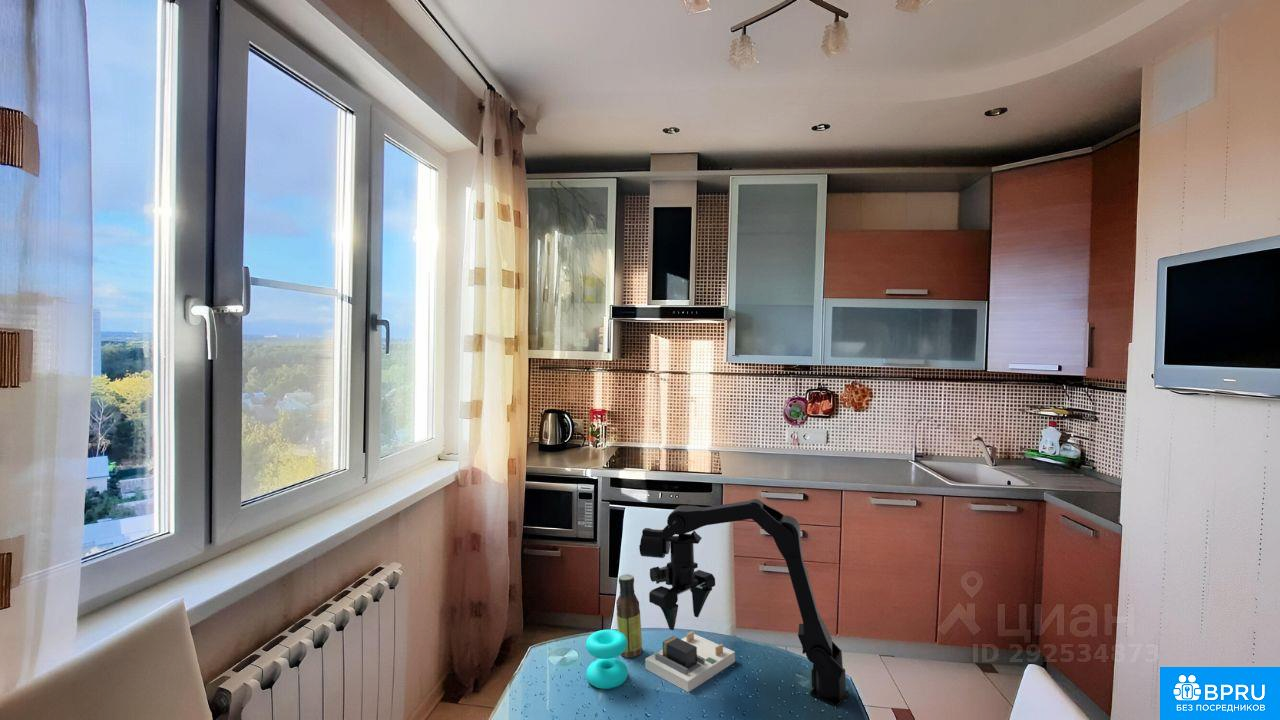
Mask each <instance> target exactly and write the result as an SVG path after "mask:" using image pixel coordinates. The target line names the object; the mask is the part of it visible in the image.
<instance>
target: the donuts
mask: <svg viewBox="0 0 1280 720" xmlns="http://www.w3.org/2000/svg"><path fill="white" fill-rule="evenodd" d="M626 647H627V639H626V637H625V635H624V634H622V633H621V632H619V631H618V630H616V629H601V630H597V631H595V632H593V633H591V634H590V635H589V636H588V637H587V639H586V642H585V649H586V651H587V652H588V653H589V655H590V656H592V657H594V658H597V659H596V660H594V661H592V662H591V663H590V664H589V666H588V667H587V670H586V674H585V675H586V680H587V682H588V684H590V685H592V686H593V687H595V688H598V689H603V690H606V689H607V690H609V689H614V688H617V687H619V686H621V685H622V684H623V683H625V681H626V680H627V678H628V675H629V671H628V670H629V669H628V667H627V665H626V663H625V662H624V661H622V660H621V659H619V658H617V657H619V656H622V655H621V654H622V653H623V652H624V651H625V649H626Z"/></svg>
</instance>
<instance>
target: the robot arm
mask: <svg viewBox="0 0 1280 720" xmlns="http://www.w3.org/2000/svg"><path fill="white" fill-rule="evenodd" d="M747 520H752V521H754V522H755V523H756V524H757V525H758V526H759V527H760V528H762V530H764V532H765V533H767V534H768V535H769V536H771V537H772V538H773V540H774V543H775V544H776V547H777V549H778V551H779V553H780V555H781V556H782V558H783V559H784V561H785V563H786V566H787V570H788V574H789V578H790V580H791V585H792V588H793V592H794V596H795V598H796V602H797V606H798V609H799V613H800V616H801V619H802V623H798V629H797V630H798V631H797V632H798V633H797V636H798V637H797V638H798V639H799V642H800V644H801V646H802V647H801V648H802V652H801V653H802V654H803V655H805V656H806V658H807V660H808V661H809V662H810V663H812V669H811V675H810V676H811V677H810V679H811V688H812V690H810V691H809V695H810V696H813V697H814V698H817V699H819V700H821V701H823V702H825V703H827V704H830V705H832V706H834V707H838V706H839V705H840V704H842V702H843V701H844V700H846V699H847V698H848V697H849V696H850V691H848V690H847V688H846V687H847V685H846V681H847V680H846V669H845V668H844V665H843V664H844V663H843V651H842V649H840V648H839V646H838V645H836V643H835V642H834V641H833V639H832V636H831V634H830V631H829V629H828V627H827V625H826V624H825V621H824V620H823V618H822V617H821V615H820V612H819V610H818V609H819V608H818V606H817V603H816V599H815V596H814V593H813V592H814V591H813V589H812V586H811V581H810V579H809V575H808V570H807V568H806V564H805V561H804V556H803V551H802V536H801V528H800V527H801V526H800V524H799V521H798V520H797V518H794V517H793V516H790V515H785V514H783V513H782V512H780V511H779V510H777V509H775V508H773V507H771V506H769V505H767V504H766V503H764V502H763V501H762V500H760V499H758V498H752V499H750V500H746V501H739V502H738V501H737V502H732V503H726V504H719V505H711V506H707V507H706V506H697V505H679V506H677V507H676V508H675V509H673V511H671V513H670V514H668V517H667V520H666V523H667V525H665V527H664V528H663V529H653V528H649V527H645V528H643V529H642V532H641V533H642V534H641V538H640V542H639V543H640V544H639V545H638V546H639V549H638V550H639V553H640V556H641V557H645V558H646V557H647V558H657V559H664V558H665V557H666V555H668V554H670V562H669V561H668V562H666V563H667V564H666V565H665V566H662V567H659V566H654V567H652V568H650V569H649V578H650V581H651V582H652V583H654V582H655V584H660V583H664V582H665V585H667V586H671V588H668V587H666V586H662V585H661V586H659V587H656V588H653V589H651V590H650V592H649V594H648V597H649V603H651V604H654V605H655V606H657V607H659V608H660V609H661V611H662V613H663V616H664V617H665V620H666V621H665V622H666V623H667V627H668V628H669V630H671V631H674V630H675V626H676V623H677V618H678V617H677V616H678V610H679V604H677V602H678V601H679V600H678V598H679V597H678V596H680V595H681V594H683V593H685V592H686V593H687V592H688V591H690V593H691V595H692V596H691V598H692V600H691V601H692V611H693V616H694V617H695V618H699V616H700V613H701V612H702V610H703V607H704V605H705V604H706V601H707V599H708V597H709V595H710V593H711V591H713V587H715V586H716V577H715V576H714V574H713V573H710V572H708V571H704V570H701V569H697V568H698V565H699V564H698V563H697V562H695V555H694V553H695V552H694V551H695V550H694V549H695V547H694V545H695V544H696V545H698V544H699V543H700V542H701V540H702V539H703V538H702V537H701V536H700V535H699V534H698V533H697V532H696V530H698V529H699V528H702V527H705V526H711V525H717V524H725V523H732V522H740V521H747ZM695 569H697V570H695Z"/></svg>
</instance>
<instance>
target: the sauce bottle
mask: <svg viewBox="0 0 1280 720" xmlns="http://www.w3.org/2000/svg"><path fill="white" fill-rule="evenodd" d="M618 584H619V596H618V598H617V599H616V603H615V604H616V622H617V623H616V626H617V631H619V632H621V633H622V634H624V635H625V637H626V639H627V647H626V649H625V651H624V652H623V653H622V654H621V655H620V656H622V657H624V658H635V657H638V656H640V655H641V654H642V651H643V640H642V637H643V636H642V623H641V622H642V621H641V620H642V619H641V610H640V601H639V600H638V597H637V595H636V594H635V577H634V575H632V574H629V573H626V574H625V573H624V574H622V575H619V577H618Z"/></svg>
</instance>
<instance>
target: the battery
mask: <svg viewBox="0 0 1280 720" xmlns="http://www.w3.org/2000/svg"><path fill="white" fill-rule="evenodd" d="M681 639H682V638H678V637H676V636H675V635H674V636H672V637H670V638H667V639H666V640H663V641H662V649H663V656H664V657H666V658H668V659H670V660H672V661H674V662H676V663H678V664H680V665H682V666H684V667H686V668H688V669H689V668H691V667H692V666H694V665H696V664H697V647H696V646H694V645H691V644H689V643H687V642H685V641H683V640H681Z"/></svg>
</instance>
